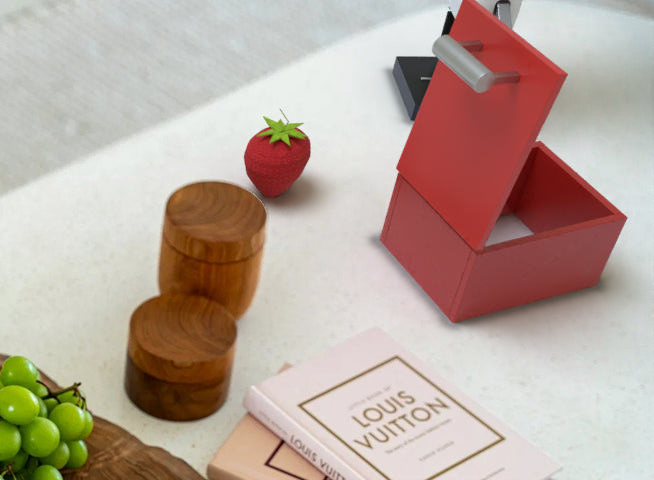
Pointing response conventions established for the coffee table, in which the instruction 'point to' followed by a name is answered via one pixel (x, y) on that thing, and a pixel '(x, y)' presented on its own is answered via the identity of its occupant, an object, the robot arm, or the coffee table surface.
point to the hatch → (478, 120)
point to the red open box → (508, 242)
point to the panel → (413, 80)
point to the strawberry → (276, 156)
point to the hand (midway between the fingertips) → (463, 67)
